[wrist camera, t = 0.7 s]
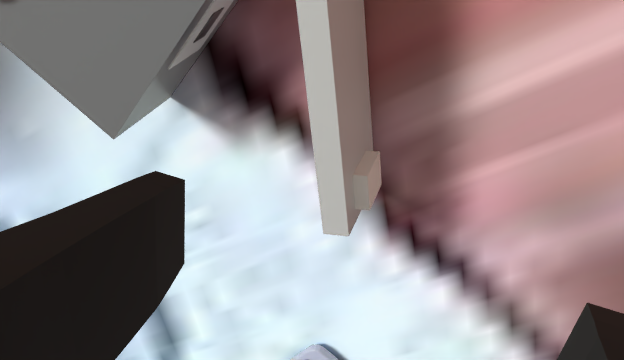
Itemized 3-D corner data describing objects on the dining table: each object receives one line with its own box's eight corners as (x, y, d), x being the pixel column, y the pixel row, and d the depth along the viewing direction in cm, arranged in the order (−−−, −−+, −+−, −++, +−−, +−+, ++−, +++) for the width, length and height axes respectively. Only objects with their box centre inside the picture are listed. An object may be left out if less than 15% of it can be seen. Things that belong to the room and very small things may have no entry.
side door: (387, 181, 20) (363, 238, 18) (349, 178, 21) (320, 233, 18) (372, -130, 16) (335, -119, 13) (323, -125, 16) (278, -113, 13)
